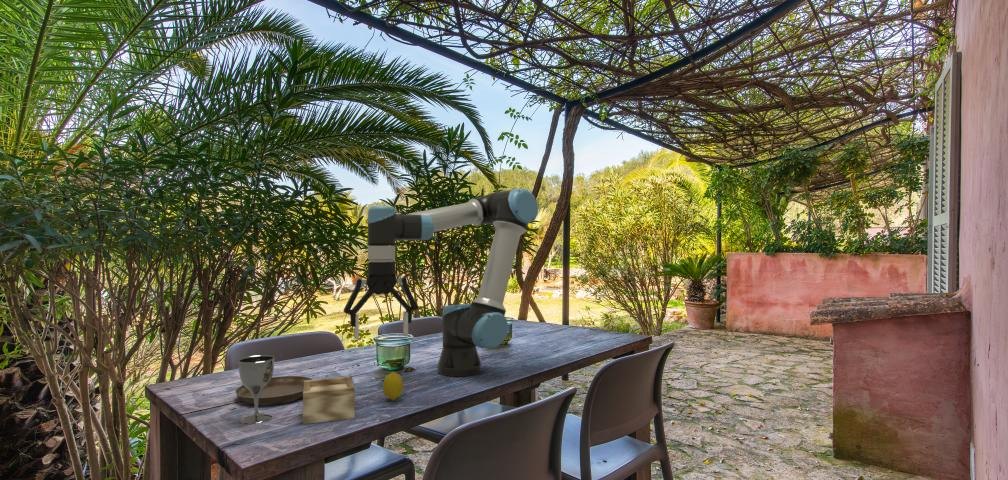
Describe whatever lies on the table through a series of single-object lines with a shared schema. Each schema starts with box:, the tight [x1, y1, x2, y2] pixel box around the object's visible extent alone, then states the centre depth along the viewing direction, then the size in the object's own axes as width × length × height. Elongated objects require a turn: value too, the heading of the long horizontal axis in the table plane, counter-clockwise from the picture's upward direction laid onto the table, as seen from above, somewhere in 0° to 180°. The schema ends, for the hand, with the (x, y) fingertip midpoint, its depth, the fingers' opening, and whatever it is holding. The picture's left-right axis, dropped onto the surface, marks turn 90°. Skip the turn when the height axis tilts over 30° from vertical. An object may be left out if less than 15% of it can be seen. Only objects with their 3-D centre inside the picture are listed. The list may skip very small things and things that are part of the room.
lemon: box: [382, 371, 404, 402], centre depth 137 cm, size 6×6×8 cm
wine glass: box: [238, 354, 275, 425], centre depth 123 cm, size 8×8×15 cm
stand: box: [302, 375, 356, 425], centre depth 127 cm, size 12×12×8 cm
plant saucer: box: [235, 375, 314, 406], centre depth 142 cm, size 21×21×3 cm
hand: (381, 336), depth 138 cm, fingers open, 13 cm apart
